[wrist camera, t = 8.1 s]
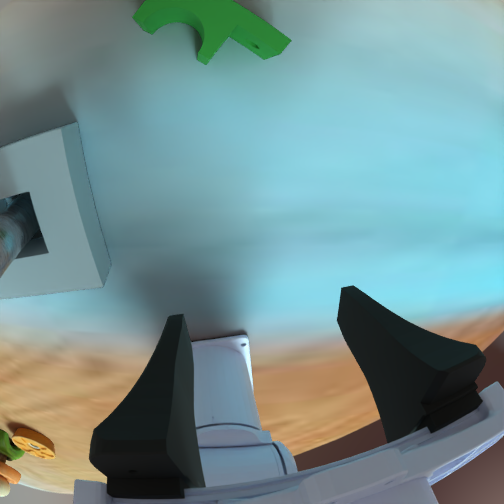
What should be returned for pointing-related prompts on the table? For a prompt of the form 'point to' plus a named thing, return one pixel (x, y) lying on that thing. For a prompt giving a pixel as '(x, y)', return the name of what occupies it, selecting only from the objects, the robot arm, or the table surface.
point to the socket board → (53, 216)
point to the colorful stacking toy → (21, 453)
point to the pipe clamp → (214, 25)
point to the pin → (16, 229)
